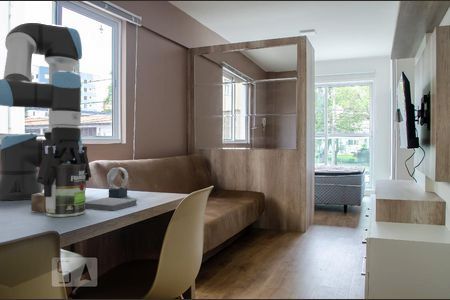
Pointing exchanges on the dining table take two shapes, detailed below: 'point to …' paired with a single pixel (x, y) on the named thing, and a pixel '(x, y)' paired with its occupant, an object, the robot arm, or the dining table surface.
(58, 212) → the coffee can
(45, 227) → the dining table surface
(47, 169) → the robot arm
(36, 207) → the marked cube
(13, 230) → the dining table surface
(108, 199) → the mat
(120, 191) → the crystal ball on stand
